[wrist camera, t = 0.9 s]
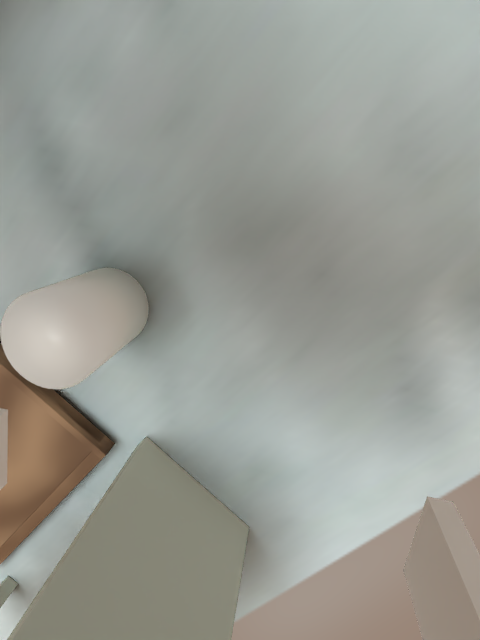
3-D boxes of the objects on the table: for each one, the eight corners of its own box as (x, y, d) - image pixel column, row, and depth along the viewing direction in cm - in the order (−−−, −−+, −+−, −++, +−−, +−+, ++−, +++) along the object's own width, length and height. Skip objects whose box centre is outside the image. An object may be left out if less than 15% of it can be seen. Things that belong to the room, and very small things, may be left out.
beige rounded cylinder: (59, 307, 36) (-19, 341, 27) (104, 250, 34) (37, 268, 25) (117, 358, 36) (59, 408, 28) (164, 305, 35) (118, 341, 26)
